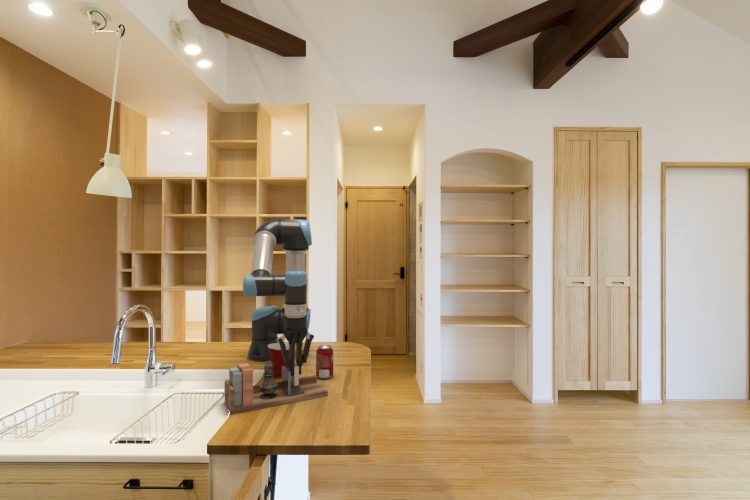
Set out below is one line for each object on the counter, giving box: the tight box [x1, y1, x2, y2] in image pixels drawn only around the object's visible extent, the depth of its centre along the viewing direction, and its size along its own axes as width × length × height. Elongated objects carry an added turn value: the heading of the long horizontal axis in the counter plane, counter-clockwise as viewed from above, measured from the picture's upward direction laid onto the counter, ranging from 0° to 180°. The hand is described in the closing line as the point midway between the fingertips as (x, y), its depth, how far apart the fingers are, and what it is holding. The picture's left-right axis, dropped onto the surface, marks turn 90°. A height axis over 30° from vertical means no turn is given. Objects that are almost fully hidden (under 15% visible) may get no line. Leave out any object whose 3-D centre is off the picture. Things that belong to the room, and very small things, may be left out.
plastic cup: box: [268, 342, 289, 378], centre depth 159 cm, size 11×11×12 cm
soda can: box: [315, 344, 334, 380], centre depth 157 cm, size 7×7×12 cm
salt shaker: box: [259, 361, 278, 399], centre depth 132 cm, size 6×6×12 cm
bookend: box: [281, 366, 305, 396], centre depth 136 cm, size 7×6×8 cm
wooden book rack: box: [223, 361, 329, 415], centre depth 134 cm, size 11×32×12 cm, turn 121°
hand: (295, 384), depth 137 cm, fingers closed
